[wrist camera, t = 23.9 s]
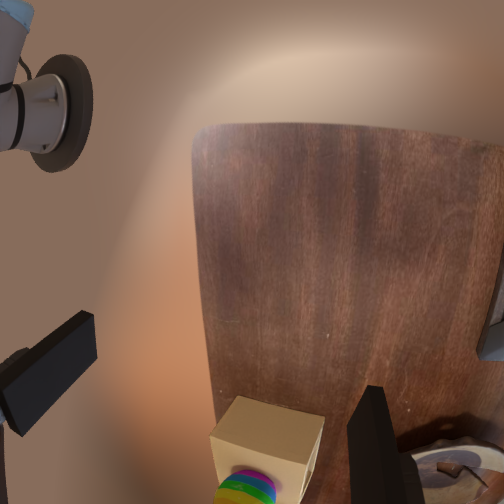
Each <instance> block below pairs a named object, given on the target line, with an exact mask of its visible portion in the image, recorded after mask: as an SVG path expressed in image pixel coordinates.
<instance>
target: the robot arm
mask: <svg viewBox="0 0 504 504" xmlns="http://www.w3.org/2000/svg"><path fill="white" fill-rule="evenodd" d="M33 15H34V9H33V6H32V5H31V4H29V3H28V2H25V1H22V0H0V152H1V151H6V150H11V149H20V150H25V151H30V152H34V153H39V154H45V153H51V152H54V151H55V150H56V149H58V147H59V146H60V145H61V143H62V142H63V140H64V138H65V135H66V132H67V129H68V126H69V121H70V114H71V97H70V91H69V87H68V84H67V82H66V80H65V79H64V78H63V77H62V76H61V75H59V74H46V75H42V76H40V77H37V78H34V79H32V78H31V72H30V70H29V68H28V67H27V65H26V64H25V63H24V62H23V61H22V59H21V57H20V54H21V51H22V48H23V45H24V42H25V38H26V36H27V34H28V33H29V31H30V28H29V27H30V24H31V21H32V18H33ZM18 62H19V63H20V65H21V66H22V67H23V68H24V69H25V71H26V73H27V79H28V81H26V82H24V83H21V84H13V80H14V76H15V72H16V68H17V65H18ZM96 359H97V349H96V338H95V326H94V315H93V314H91V313H89V312H86V311H83V310H81V311H80V312H78V313H77V314H76V315H74V316H73V317H72V318H70V319H69V320H68V321H66V322H65V323H64V324H62V325H61V326H60V327H58V328H57V329H56V330H55V331H53V332H52V333H50V334H49V335H48V336H47V337H45V338H44V339H43V340H41V341H40V342H39V343H37V344H36V345H35V346H34V347H33V348H31V349H29V348H27V347H26V348H23V349H21V350H18V351H16V352H15V353H14V354H12V355H11V356H10V357H9V358H7V359H6V360H5V361H4V362H3V363H1V364H0V504H8V497H7V488H6V477H5V463H4V427H3V424H2V423H3V422H4V421H5V420H6V421H7V423H8V425H9V427H10V429H12V430H13V431H14V432H16V433H17V434H19V435H20V436H21V437H23V436H24V435H25V434H26V432H28V430H30V428H31V427H32V426H33V425H34V424H35V423H36V422H37V421H38V420H39V419H40V417H42V416H43V414H44V413H45V412H46V411H47V410H48V409H49V408H50V407H51V406H52V405H53V404H54V403H55V402H56V401H57V400H58V399H59V397H61V395H62V394H63V393H64V392H65V391H66V390H67V389H68V388H69V387H70V386H71V385H72V384H73V383H74V382H75V381H76V380H77V379H78V378H79V377H80V376H81V375H82V374H83V373H84V372H85V370H86V369H88V367H89V366H91V364H92V363H93V362H94V361H95V360H96ZM347 436H348V450H349V465H350V485H351V504H426V503H425V498H424V493H423V489H422V484H421V483H420V481H421V480H420V475H418V474H419V471H418V467H417V463H416V461H415V460H414V458H413V457H412V455H411V454H410V453H398V449H397V444H396V440H395V435H394V431H393V426H392V422H391V418H390V414H389V409H388V405H387V401H386V397H385V393H384V390H383V387H379V386H371V385H367V387H366V389H365V391H364V393H363V395H362V397H361V399H360V401H359V403H358V405H357V407H356V409H355V411H354V413H353V415H352V417H351V418H350V420H349V422H348V424H347Z"/></svg>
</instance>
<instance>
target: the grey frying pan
mask: <svg viewBox="0 0 504 504" xmlns="http://www.w3.org/2000/svg"><path fill="white" fill-rule="evenodd" d="M405 453H410V454H411V455H412V457H413V458H414V460H415V461H416V463H417V467H418V471H419V474H418V475H420V480H421V481H420V483H421V484H422V489H423V493H424V498H425V503H426V504H466V503H469V502H472V501H474V500H476V499H478V498H479V497H481V495H482V493H483V492H484V491H485V490H487V489H488V486H487V485H486V483H485V482H484V481H482V480H481V479H480V477H478V476H477V474H475V473H474V472H473V471H472V470H470V469H469V468H468V467H466V466H471V467H478V468H488V469H491V470H496V471H499V472H501V473H504V450H503V449H502V448H501V447H499V446H497V445H495V444H493V443H490V442H487V441H481V440H476V439H474V438H472V437H470V436H464V437H461V438H459V439H456V440H447V439H439V440H437V441H435V442H434V443H432V444H430V445H427V446H423V447H419V448H416V449H413V450H410V451H408V452H405ZM437 462H447V463H454V464H459V465H464V467H463V468H462V469H460V471H459V472H458V475H457V476H456V477H454V476H452V475H451V474H448V473H446V472H442V471H438V470H437ZM453 468H454V467H453ZM453 468H452V469H453ZM452 469H451V470H452Z"/></svg>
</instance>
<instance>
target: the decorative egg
mask: <svg viewBox="0 0 504 504" xmlns="http://www.w3.org/2000/svg"><path fill="white" fill-rule="evenodd" d="M275 502H276V488H275V485H274V483H273V482H272V480H271V479H269V478H268V477H267V476H265V475H263V474H261V473H259V472H256V471H252V470H241V471H238V472H235V473H233V474H231V475H230V476H228V477H227V478H226V479H225V480H224V481H223V482H222V483H221V485H220V486H219V488H218V489H217V491H216V494H215V497H214V501H213V504H275Z"/></svg>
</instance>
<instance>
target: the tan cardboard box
mask: <svg viewBox="0 0 504 504" xmlns="http://www.w3.org/2000/svg"><path fill="white" fill-rule="evenodd" d="M324 421H325V417H324V416H319V415H314V414H309V413H305V412H300V411H296V410H292V409H288V408H284V407H280V406H276V405H272V404H268V403H264V402H261V401H257V400H253V399H250V398H246V397H243V396H239V395H238V396H237V397H236V399H235V400H234V401H233V403H232V404H231V406H230V407H229V409H228V410H227V411H226V413H225V414H224V416H223V417H222V418H221V420H220V421H219V422H218V424H217V425H216V427H215V428H214V429H213V431H212V432H211V433H210V435H209V437H210V442H211V448H212V453H213V458H214V462H215V467H216V471H217V476H218V481H219V486H220V485H221V483H222V482H223V481H224V480H225V479H226V478H227V477H228V476H230V475H231V474H233V473H235V472H238V471H241V470H252V471H256V472H259V473H261V474H263V475H265V476H267V477H268V478H269V479H271V480H272V482H273V483H274V485H275V488H276V502H275V504H300V502H301V500H302V498H303V495H304V493H305V490H306V488H307V486H308V483H309V481H310V478H311V476H312V473H313V470H314V466H315V461H316V457H317V453H318V449H319V444H320V440H321V435H322V430H323V425H324ZM219 486H218V488H219ZM218 488H217V489H218ZM217 489H216V491H217Z"/></svg>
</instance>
